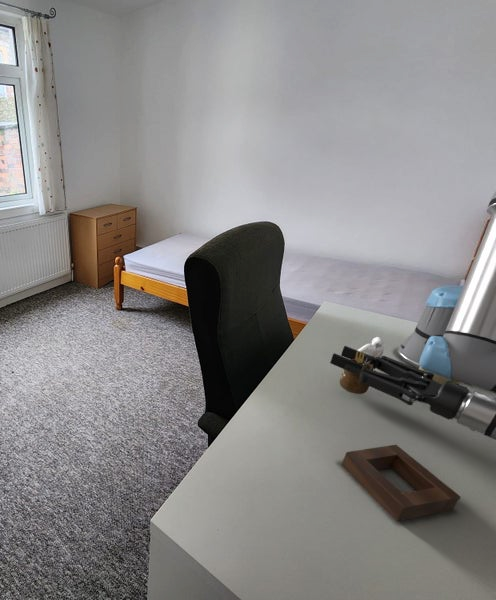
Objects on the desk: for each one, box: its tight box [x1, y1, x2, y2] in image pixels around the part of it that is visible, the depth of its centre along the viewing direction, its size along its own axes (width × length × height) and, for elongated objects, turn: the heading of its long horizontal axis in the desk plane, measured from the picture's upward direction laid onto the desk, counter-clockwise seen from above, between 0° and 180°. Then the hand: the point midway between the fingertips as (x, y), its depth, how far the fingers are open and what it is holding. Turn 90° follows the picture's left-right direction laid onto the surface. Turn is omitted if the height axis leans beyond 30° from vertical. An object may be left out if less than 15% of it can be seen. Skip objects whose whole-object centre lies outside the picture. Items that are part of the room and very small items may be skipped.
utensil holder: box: [339, 348, 374, 395], centre depth 84 cm, size 6×6×12 cm
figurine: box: [357, 336, 385, 365], centre depth 94 cm, size 8×8×12 cm
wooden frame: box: [341, 444, 461, 522], centre depth 62 cm, size 11×11×4 cm
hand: (337, 354), depth 87 cm, fingers closed on utensil holder, 5 cm apart
